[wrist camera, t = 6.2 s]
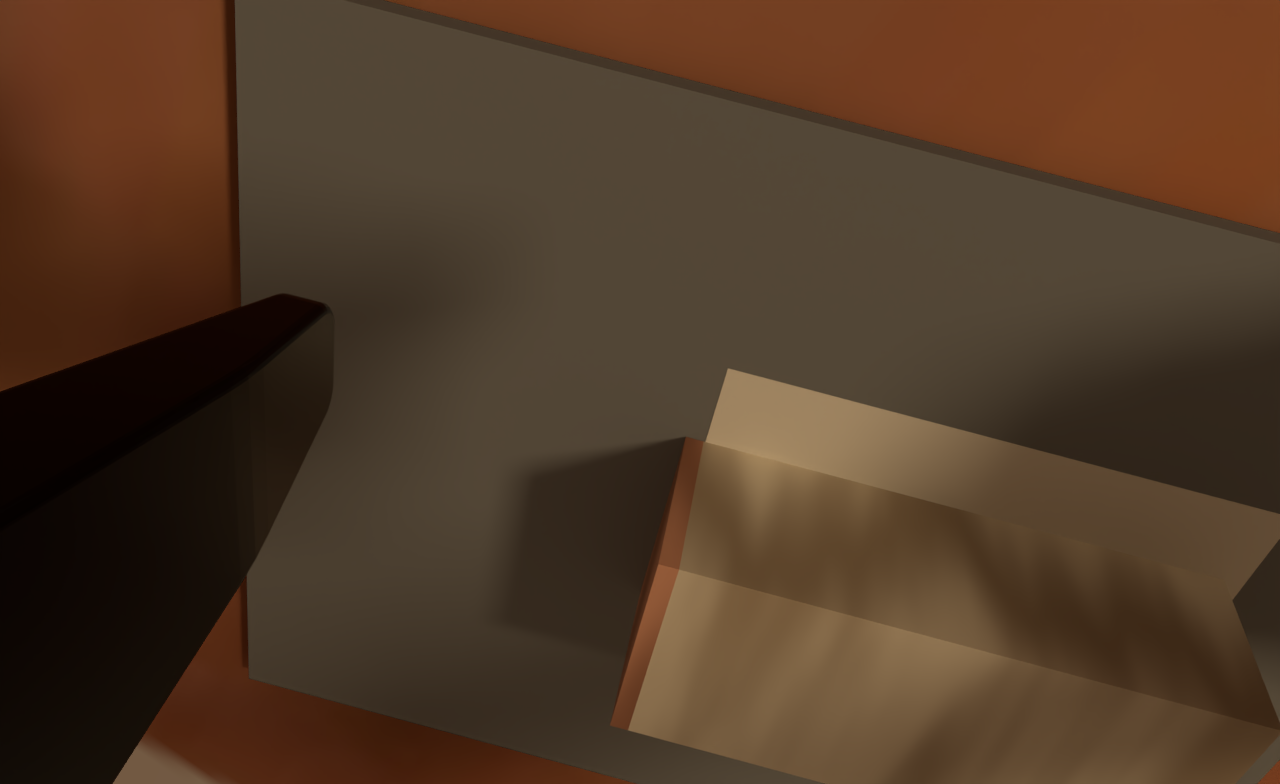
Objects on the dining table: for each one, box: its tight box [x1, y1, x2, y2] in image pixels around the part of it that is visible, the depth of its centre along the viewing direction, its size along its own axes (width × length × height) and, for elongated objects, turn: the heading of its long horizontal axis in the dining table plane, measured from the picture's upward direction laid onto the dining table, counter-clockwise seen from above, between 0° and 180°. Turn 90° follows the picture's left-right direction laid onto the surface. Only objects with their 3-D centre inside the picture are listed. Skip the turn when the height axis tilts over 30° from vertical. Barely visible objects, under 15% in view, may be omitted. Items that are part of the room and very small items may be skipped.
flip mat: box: [235, 0, 1280, 784], centre depth 25 cm, size 26×20×1 cm
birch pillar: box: [610, 437, 1280, 784], centre depth 23 cm, size 4×5×12 cm
